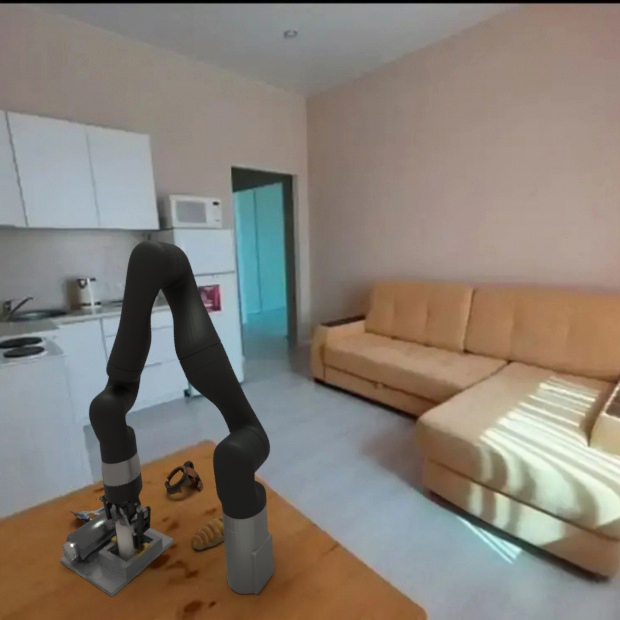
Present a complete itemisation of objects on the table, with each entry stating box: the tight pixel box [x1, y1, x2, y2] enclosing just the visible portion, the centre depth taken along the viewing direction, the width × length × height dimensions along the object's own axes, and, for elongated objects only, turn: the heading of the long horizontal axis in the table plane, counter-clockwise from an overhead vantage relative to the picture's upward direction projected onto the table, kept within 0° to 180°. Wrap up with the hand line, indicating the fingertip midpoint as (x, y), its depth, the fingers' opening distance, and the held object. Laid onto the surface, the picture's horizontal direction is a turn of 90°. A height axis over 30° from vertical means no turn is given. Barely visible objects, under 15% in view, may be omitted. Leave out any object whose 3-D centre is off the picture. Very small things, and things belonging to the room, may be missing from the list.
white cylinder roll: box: [115, 514, 140, 562], centre depth 84 cm, size 5×5×10 cm
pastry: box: [191, 515, 224, 551], centre depth 91 cm, size 9×7×4 cm
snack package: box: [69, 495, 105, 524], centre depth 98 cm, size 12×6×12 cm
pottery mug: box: [164, 460, 204, 495], centre depth 111 cm, size 12×10×8 cm
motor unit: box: [59, 508, 175, 598], centre depth 88 cm, size 19×18×7 cm
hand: (130, 541), depth 85 cm, fingers open, 5 cm apart
